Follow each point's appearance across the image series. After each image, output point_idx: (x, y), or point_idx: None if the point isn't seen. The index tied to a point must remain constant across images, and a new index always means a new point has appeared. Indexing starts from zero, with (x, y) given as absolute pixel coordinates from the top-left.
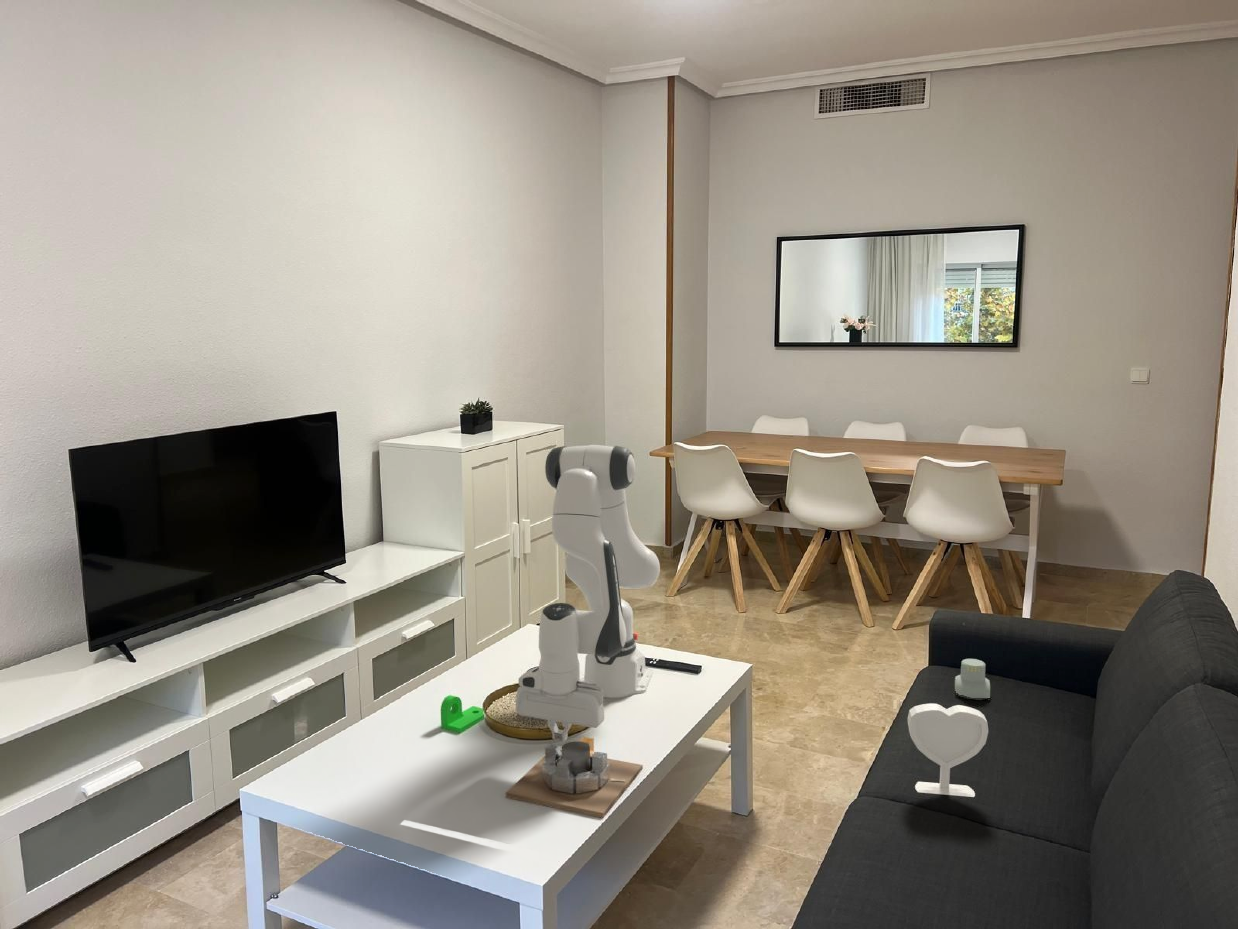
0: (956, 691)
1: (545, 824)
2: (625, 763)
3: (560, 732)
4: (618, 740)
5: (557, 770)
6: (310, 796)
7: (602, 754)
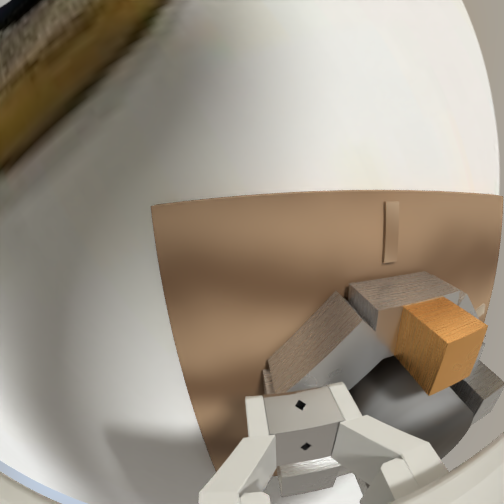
0: None
1: (345, 476)
2: (476, 206)
3: (316, 451)
4: (359, 7)
5: (360, 485)
6: (18, 466)
7: (494, 398)
